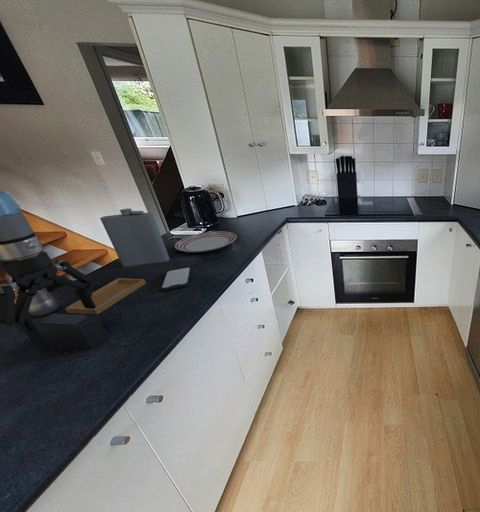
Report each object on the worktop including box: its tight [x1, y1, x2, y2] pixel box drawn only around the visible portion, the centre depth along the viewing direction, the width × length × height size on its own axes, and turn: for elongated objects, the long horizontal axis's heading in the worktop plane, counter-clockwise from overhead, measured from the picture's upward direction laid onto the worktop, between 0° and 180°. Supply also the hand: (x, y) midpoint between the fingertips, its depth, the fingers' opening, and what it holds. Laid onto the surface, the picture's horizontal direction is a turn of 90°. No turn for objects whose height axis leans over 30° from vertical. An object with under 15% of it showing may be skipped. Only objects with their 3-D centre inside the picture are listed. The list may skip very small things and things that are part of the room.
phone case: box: [160, 266, 192, 292], centre depth 111 cm, size 9×2×16 cm
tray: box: [64, 277, 147, 315], centre depth 100 cm, size 11×20×2 cm, turn 177°
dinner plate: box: [174, 231, 238, 254], centre depth 141 cm, size 28×27×3 cm
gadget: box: [33, 313, 110, 350], centre depth 78 cm, size 14×5×8 cm, turn 87°
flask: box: [99, 207, 171, 268], centre depth 119 cm, size 17×5×25 cm, turn 111°
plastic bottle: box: [4, 272, 60, 317], centre depth 87 cm, size 6×7×20 cm
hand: (66, 322), depth 77 cm, fingers open, 13 cm apart
